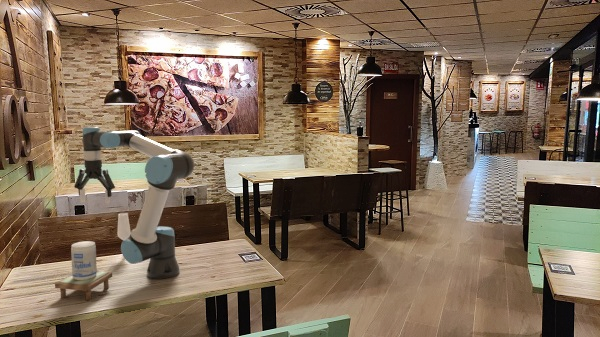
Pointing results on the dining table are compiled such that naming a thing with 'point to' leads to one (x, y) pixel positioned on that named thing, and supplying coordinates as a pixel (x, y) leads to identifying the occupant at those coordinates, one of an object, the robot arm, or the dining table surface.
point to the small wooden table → (83, 284)
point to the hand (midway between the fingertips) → (95, 203)
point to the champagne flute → (123, 228)
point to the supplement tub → (83, 260)
